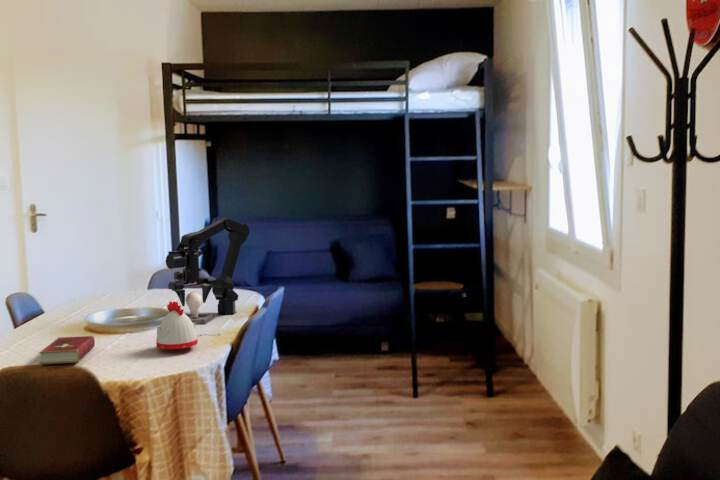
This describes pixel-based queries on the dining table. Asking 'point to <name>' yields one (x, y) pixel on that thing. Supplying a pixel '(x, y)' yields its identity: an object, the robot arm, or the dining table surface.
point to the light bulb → (194, 303)
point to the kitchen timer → (176, 329)
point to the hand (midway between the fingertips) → (193, 304)
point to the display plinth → (202, 318)
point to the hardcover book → (67, 349)
